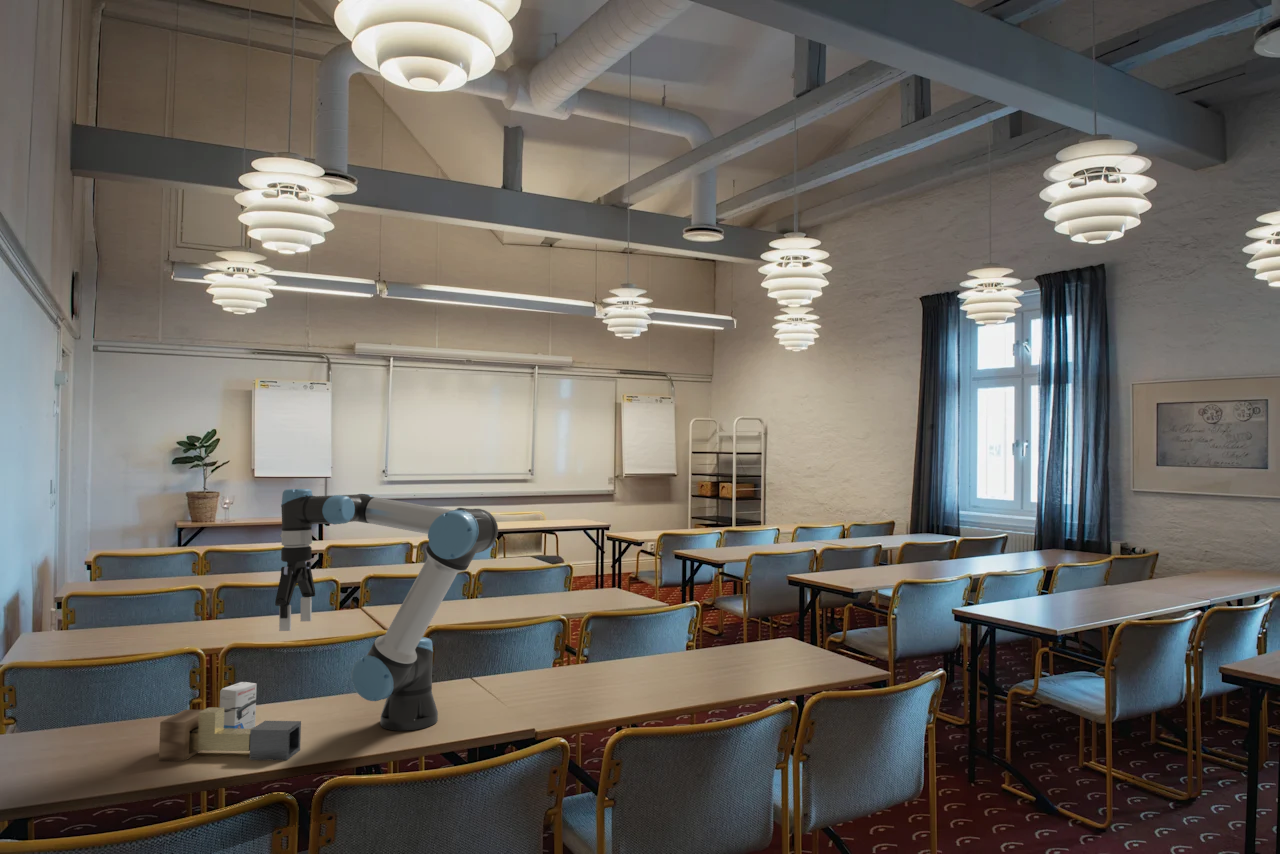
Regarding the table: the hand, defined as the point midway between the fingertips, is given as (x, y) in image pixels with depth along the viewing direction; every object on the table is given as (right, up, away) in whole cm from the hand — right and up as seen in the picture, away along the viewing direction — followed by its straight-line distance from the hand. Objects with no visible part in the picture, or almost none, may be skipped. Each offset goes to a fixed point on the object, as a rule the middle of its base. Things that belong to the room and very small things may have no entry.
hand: (295, 625), depth 213 cm
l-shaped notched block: (-10, -25, -20) cm, 33 cm away
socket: (-19, -26, -20) cm, 38 cm away
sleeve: (+4, -26, -20) cm, 33 cm away
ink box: (-14, -27, -3) cm, 31 cm away
